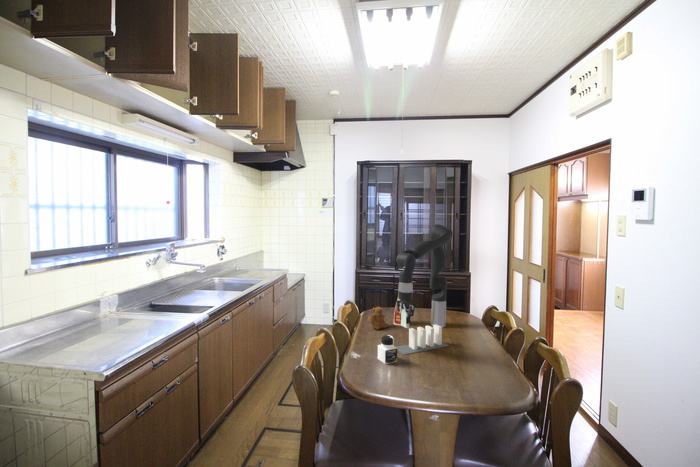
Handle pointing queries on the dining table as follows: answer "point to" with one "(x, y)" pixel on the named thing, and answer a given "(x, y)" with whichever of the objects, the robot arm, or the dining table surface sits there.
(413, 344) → the domino
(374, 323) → the stuffed squirrel
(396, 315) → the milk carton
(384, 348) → the medicine bottle
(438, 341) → the domino
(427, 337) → the domino
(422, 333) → the domino
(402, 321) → the domino
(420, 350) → the runner mat
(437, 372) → the dining table surface
